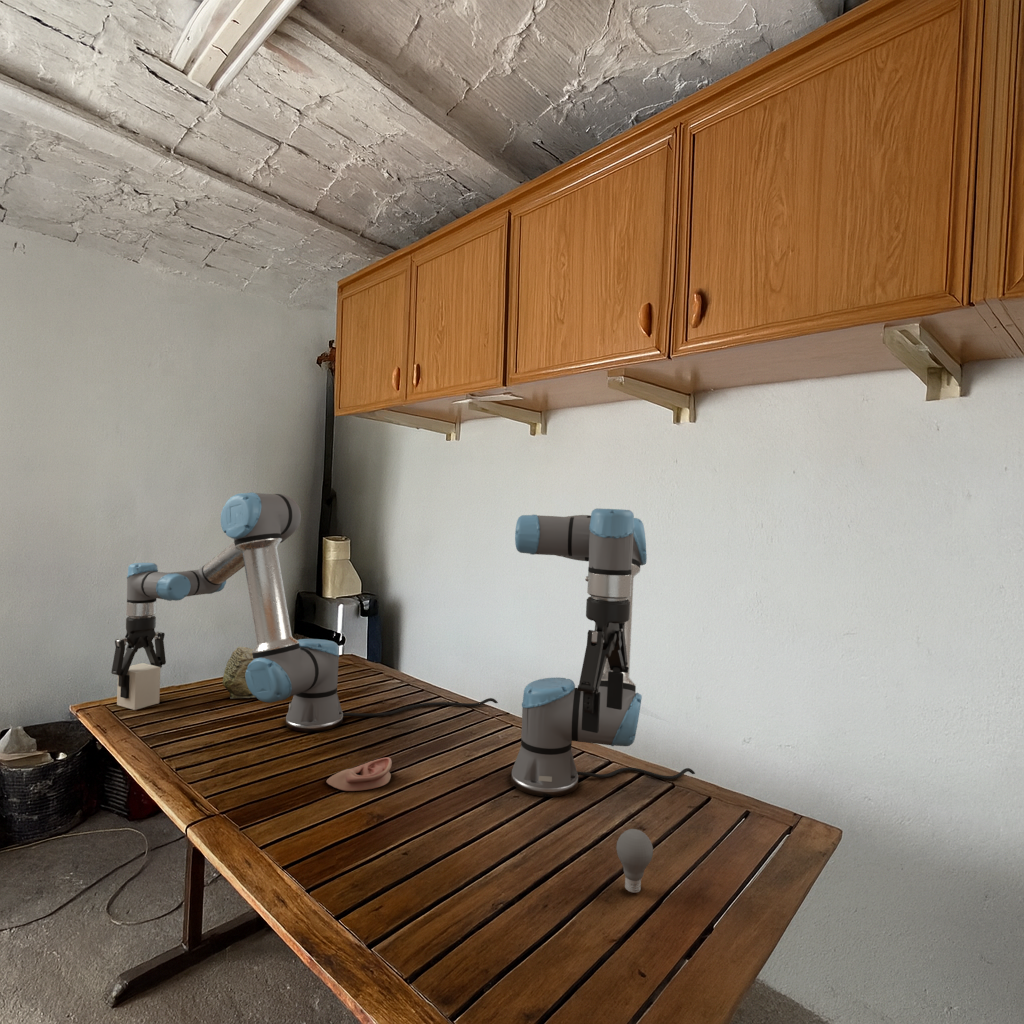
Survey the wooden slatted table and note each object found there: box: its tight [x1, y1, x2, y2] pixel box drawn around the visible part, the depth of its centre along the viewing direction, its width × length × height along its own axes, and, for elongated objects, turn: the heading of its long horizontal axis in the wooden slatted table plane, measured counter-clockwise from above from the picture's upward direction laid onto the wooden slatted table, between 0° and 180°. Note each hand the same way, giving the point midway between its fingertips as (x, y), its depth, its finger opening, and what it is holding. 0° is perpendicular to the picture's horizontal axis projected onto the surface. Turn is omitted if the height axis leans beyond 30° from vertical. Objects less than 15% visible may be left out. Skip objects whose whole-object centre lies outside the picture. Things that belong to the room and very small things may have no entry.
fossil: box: [222, 646, 256, 699], centre depth 198 cm, size 9×18×15 cm, turn 132°
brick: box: [116, 662, 162, 711], centre depth 185 cm, size 8×8×11 cm
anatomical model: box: [326, 756, 393, 792], centre depth 142 cm, size 13×4×12 cm
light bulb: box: [615, 828, 654, 894], centre depth 106 cm, size 6×6×10 cm
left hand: (138, 693), depth 185 cm, fingers closed on brick, 8 cm apart
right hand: (602, 719), depth 110 cm, fingers open, 13 cm apart
